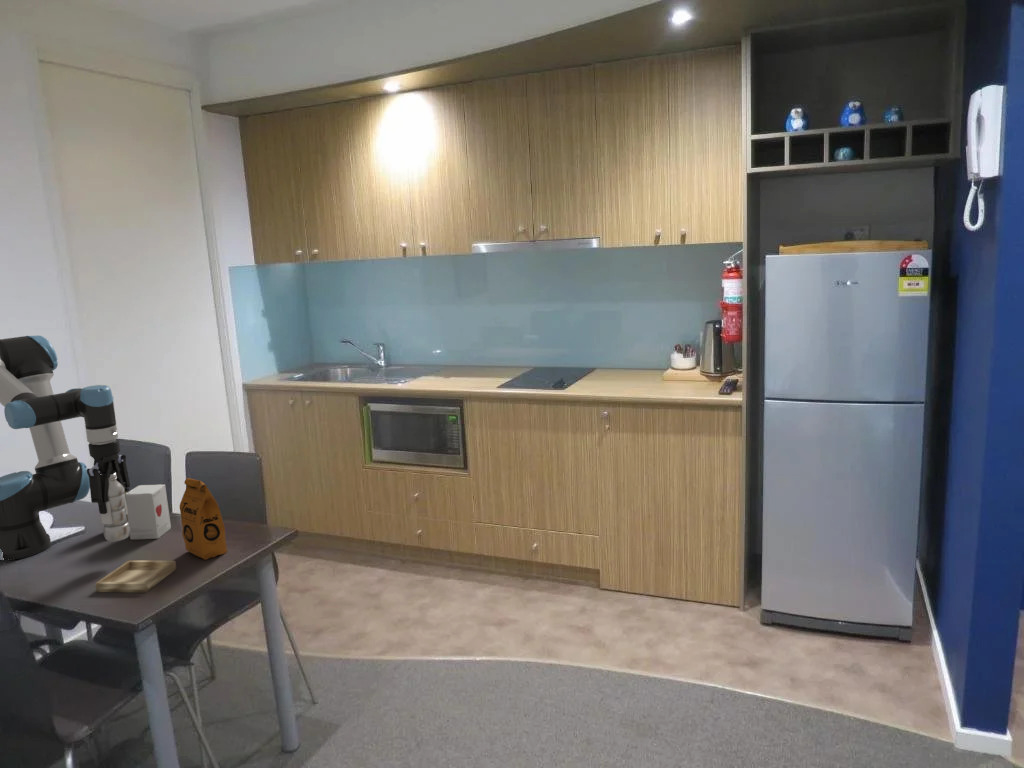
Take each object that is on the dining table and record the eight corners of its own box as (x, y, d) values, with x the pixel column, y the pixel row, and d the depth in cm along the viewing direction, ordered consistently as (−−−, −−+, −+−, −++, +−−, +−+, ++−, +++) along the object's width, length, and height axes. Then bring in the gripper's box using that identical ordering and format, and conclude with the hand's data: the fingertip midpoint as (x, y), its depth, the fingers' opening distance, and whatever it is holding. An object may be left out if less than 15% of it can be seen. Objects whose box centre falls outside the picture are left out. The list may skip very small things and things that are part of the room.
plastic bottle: (106, 537, 210) (96, 471, 206) (132, 533, 213) (123, 468, 209) (103, 546, 205) (93, 478, 200) (130, 541, 207) (120, 475, 203)
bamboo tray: (96, 591, 192) (95, 583, 191) (130, 568, 205) (128, 560, 205) (145, 592, 190) (144, 584, 189) (176, 568, 203) (175, 560, 203)
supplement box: (158, 539, 225) (151, 493, 222) (129, 540, 225) (122, 494, 222) (172, 527, 234) (166, 483, 231) (145, 528, 234) (138, 484, 231)
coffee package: (198, 563, 206) (188, 490, 202) (181, 552, 215) (171, 481, 210) (232, 552, 213) (223, 480, 209) (214, 541, 222) (205, 472, 217)
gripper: (92, 451, 193) (105, 532, 198) (137, 431, 211) (147, 506, 216) (66, 451, 194) (79, 532, 199) (113, 431, 212) (124, 506, 217)
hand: (115, 518), depth 207 cm, fingers closed on plastic bottle, 6 cm apart
